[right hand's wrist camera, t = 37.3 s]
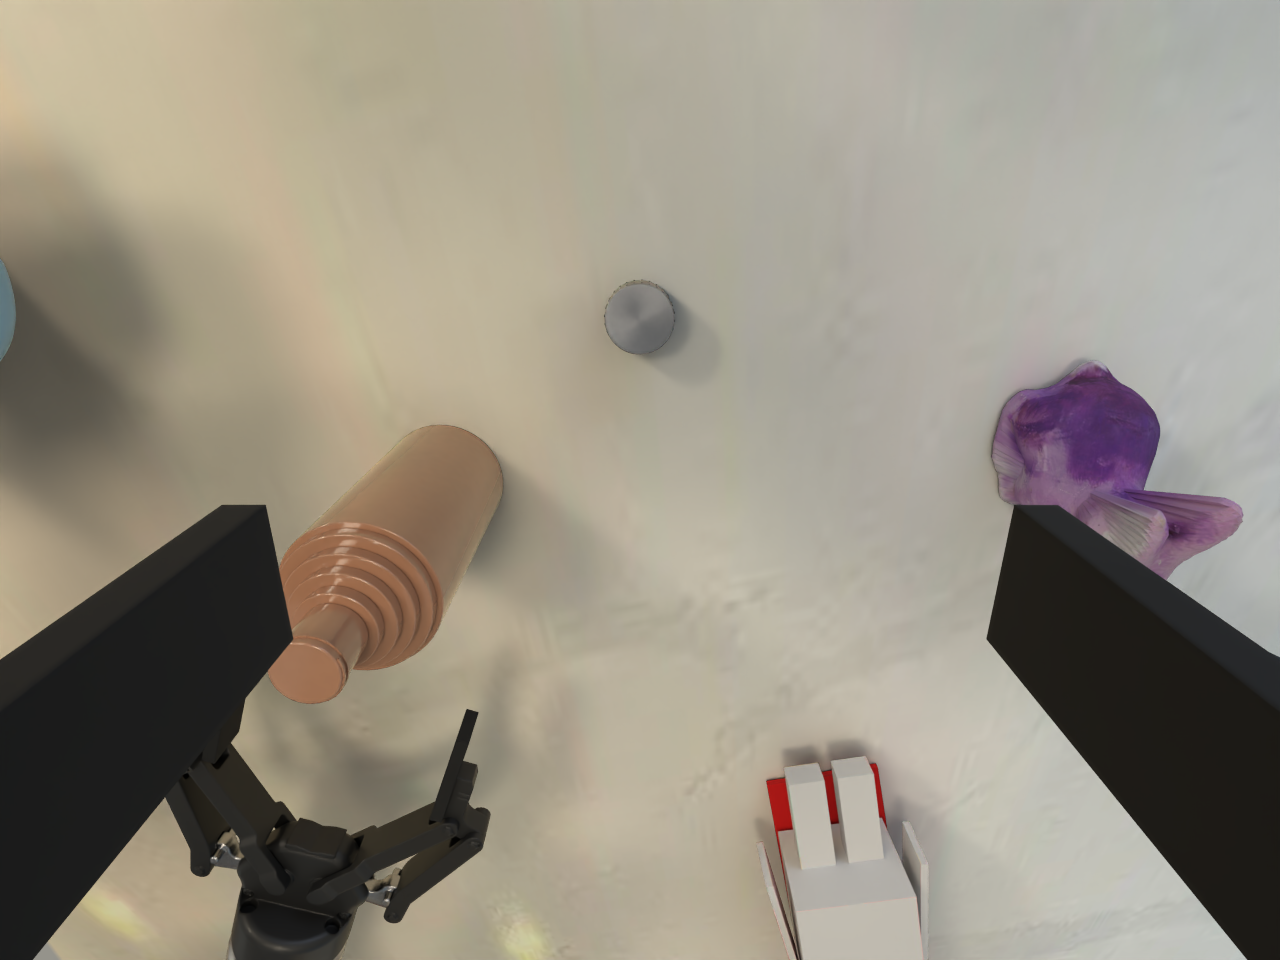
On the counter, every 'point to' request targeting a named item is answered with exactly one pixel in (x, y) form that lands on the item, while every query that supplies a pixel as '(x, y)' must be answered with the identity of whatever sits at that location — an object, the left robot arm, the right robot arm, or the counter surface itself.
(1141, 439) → the figurine
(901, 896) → the toy
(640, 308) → the cap
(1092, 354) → the counter surface
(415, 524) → the tan bottle
